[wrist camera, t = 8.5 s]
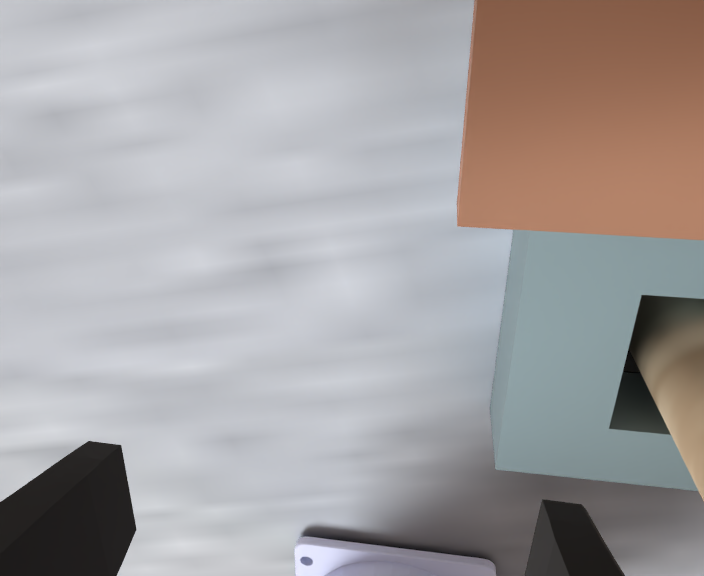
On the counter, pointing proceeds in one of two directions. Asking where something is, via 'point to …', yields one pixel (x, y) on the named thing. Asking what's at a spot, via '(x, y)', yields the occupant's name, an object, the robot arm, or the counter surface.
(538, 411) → the socket block
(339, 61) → the counter surface
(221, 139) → the counter surface
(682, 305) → the birch peg
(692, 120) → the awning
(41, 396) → the counter surface
